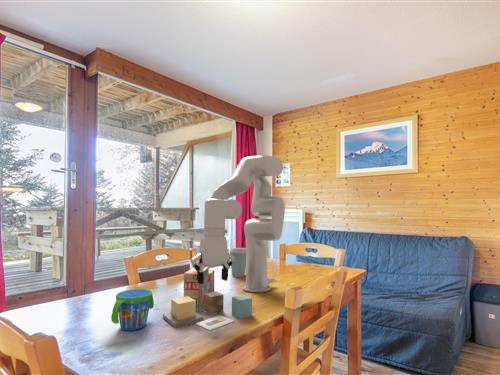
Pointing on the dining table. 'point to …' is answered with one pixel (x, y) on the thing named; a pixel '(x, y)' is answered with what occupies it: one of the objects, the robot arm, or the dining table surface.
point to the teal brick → (241, 306)
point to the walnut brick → (213, 302)
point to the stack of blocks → (198, 284)
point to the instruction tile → (214, 322)
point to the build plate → (184, 321)
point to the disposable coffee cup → (238, 261)
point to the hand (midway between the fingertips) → (212, 281)
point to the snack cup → (132, 308)
